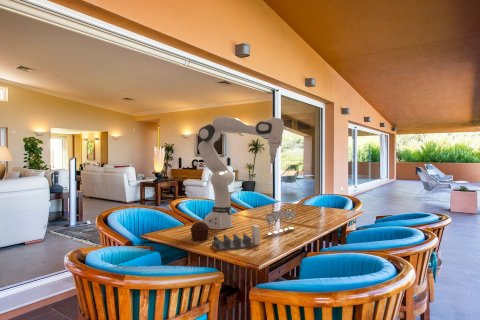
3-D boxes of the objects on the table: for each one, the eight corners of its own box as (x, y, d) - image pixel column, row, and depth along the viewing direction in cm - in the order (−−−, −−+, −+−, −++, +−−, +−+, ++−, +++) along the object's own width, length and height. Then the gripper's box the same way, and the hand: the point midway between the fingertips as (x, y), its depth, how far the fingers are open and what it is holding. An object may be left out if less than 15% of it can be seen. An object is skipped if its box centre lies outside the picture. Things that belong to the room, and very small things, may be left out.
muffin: (191, 237, 190) (191, 220, 190) (209, 236, 191) (209, 220, 191) (189, 242, 178) (189, 224, 178) (208, 242, 179) (208, 224, 179)
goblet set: (270, 234, 196) (270, 213, 196) (263, 233, 200) (263, 212, 200) (296, 228, 215) (297, 208, 215) (290, 226, 219) (290, 207, 219)
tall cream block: (255, 244, 173) (255, 227, 173) (251, 242, 178) (252, 225, 178) (260, 244, 174) (260, 226, 174) (256, 242, 179) (256, 224, 179)
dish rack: (218, 250, 162) (218, 241, 162) (212, 243, 176) (212, 234, 176) (252, 247, 168) (252, 238, 168) (244, 240, 181) (244, 232, 181)
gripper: (270, 143, 214) (267, 163, 213) (269, 139, 194) (266, 161, 193) (279, 145, 213) (276, 165, 212) (279, 140, 193) (276, 162, 192)
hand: (271, 163), depth 202 cm, fingers open, 8 cm apart
